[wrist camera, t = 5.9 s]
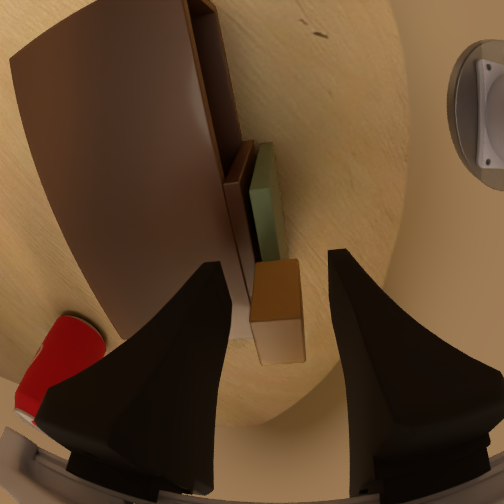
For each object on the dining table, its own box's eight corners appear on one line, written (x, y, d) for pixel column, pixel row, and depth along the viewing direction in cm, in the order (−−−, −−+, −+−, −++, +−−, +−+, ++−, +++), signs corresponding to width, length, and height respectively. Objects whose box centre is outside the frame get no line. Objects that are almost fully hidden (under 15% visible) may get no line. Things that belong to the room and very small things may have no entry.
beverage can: (53, 322, 27) (5, 408, 17) (70, 301, 24) (11, 403, 14) (95, 356, 29) (57, 443, 19) (119, 341, 27) (76, 445, 17)
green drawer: (284, 140, 15) (294, 232, 7) (299, 263, 19) (308, 399, 11) (255, 144, 15) (226, 239, 7) (275, 265, 19) (270, 401, 11)
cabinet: (226, 2, 11) (194, -39, 5) (274, 260, 20) (271, 338, 14) (87, 51, 12) (8, 59, 7) (155, 270, 21) (122, 340, 15)
